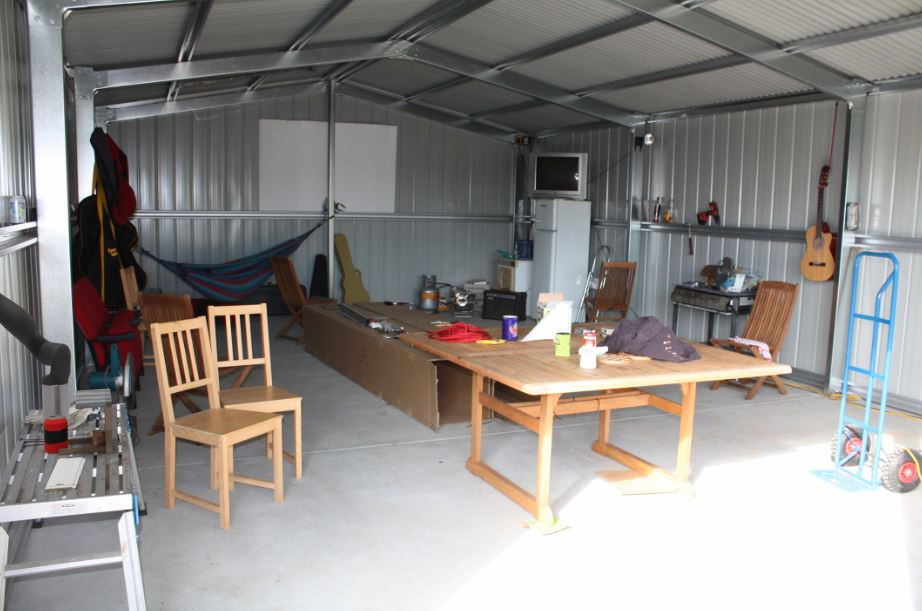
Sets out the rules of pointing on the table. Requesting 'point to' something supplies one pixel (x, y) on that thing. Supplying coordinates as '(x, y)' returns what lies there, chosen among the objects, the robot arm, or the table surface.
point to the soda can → (55, 434)
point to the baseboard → (65, 474)
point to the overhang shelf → (100, 437)
